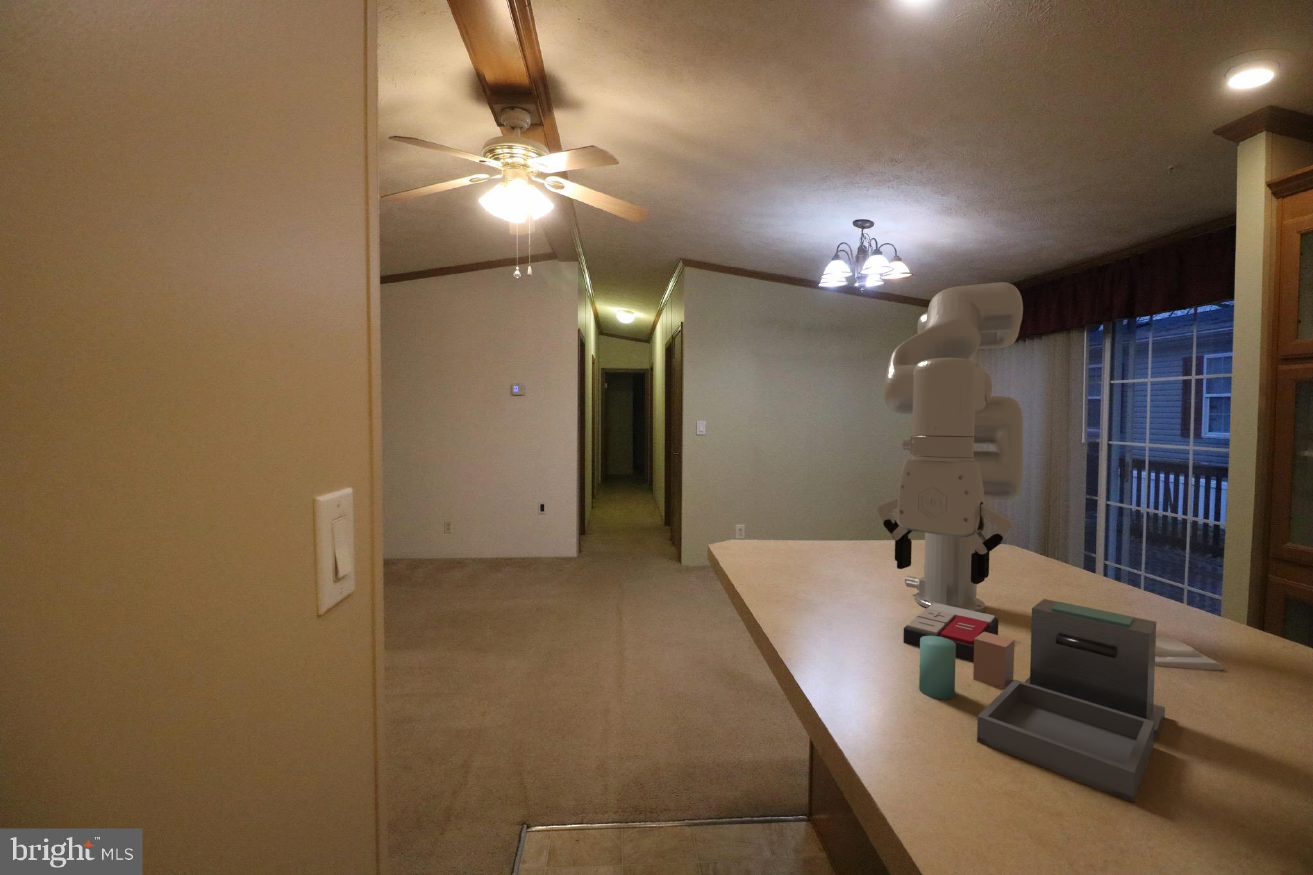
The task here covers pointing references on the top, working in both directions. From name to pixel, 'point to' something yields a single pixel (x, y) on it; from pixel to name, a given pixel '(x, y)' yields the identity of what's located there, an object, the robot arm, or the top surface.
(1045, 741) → the parts tray
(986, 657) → the terracotta block
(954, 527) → the robot arm
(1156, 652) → the light switch
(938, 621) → the calculator
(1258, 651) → the top surface
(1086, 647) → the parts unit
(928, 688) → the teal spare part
